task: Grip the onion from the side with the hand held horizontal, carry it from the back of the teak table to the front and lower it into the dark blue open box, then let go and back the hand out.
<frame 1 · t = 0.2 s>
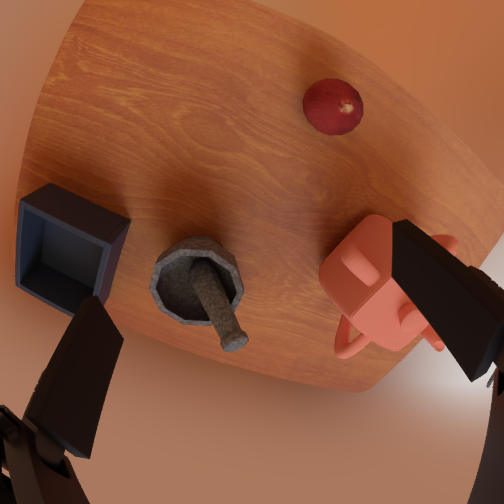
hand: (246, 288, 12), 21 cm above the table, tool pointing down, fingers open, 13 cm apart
teapot: (369, 262, 37), on the table
dark blue open box: (77, 243, 32), on the table
onion: (321, 107, 27), on the table
mortar and pestle: (205, 260, 35), on the table
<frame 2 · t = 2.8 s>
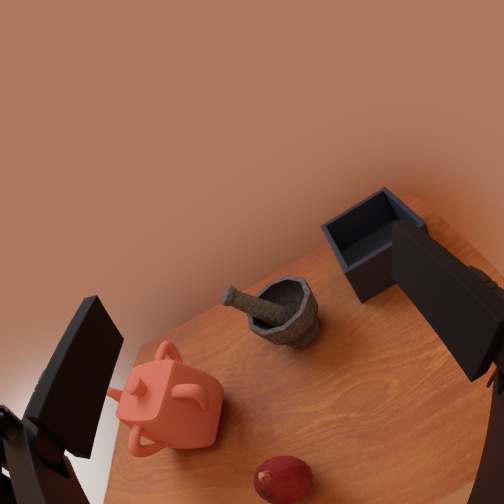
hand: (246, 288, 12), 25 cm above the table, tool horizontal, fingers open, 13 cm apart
teapot: (195, 420, 39), on the table
dark blue open box: (382, 255, 41), on the table
onion: (300, 482, 23), on the table
mortar and pestle: (297, 331, 41), on the table
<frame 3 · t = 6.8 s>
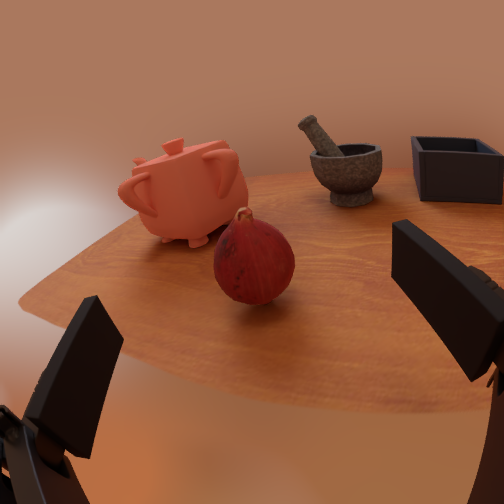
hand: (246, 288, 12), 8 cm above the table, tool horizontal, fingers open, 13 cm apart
teapot: (196, 230, 41), on the table
dark blue open box: (454, 186, 34), on the table
onion: (264, 304, 23), on the table
mortar and pestle: (347, 199, 38), on the table
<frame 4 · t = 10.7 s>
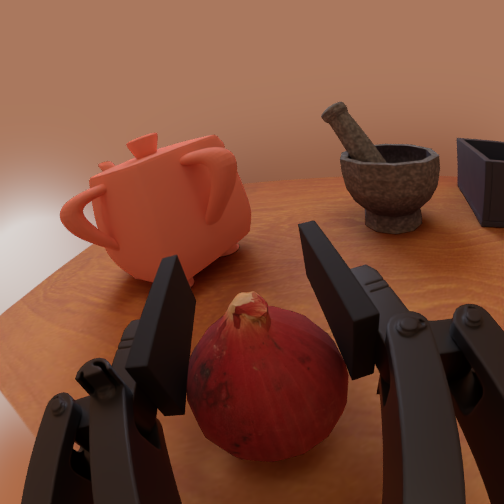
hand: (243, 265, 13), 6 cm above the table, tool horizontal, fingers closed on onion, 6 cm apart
teapot: (179, 261, 29), on the table
onion: (283, 429, 11), on the table, touching gripper
mortar and pestle: (386, 220, 27), on the table
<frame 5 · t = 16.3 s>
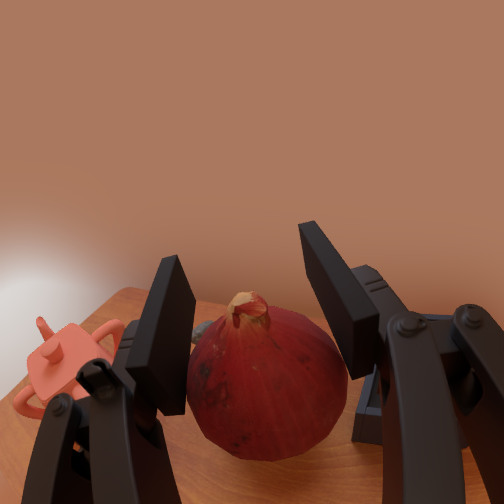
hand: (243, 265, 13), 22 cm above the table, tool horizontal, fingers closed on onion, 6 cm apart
teapot: (105, 409, 31), on the table
dark blue open box: (419, 396, 24), on the table
onion: (282, 428, 11), point 15 cm above the table, touching gripper
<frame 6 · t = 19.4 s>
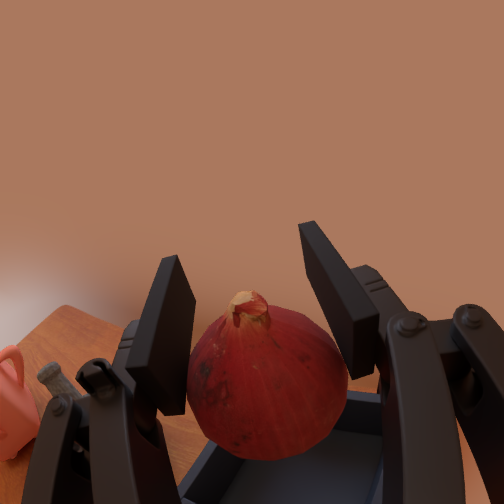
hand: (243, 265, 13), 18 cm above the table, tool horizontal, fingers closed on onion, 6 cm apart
teapot: (20, 425, 24), on the table
dark blue open box: (304, 482, 17), on the table
onion: (282, 428, 11), point 12 cm above the table, touching gripper
mortar and pestle: (130, 457, 21), on the table
when the fingers open (10 cm above the table, at t = 22.1 s): onion drops 3 cm, resting on dark blue open box.
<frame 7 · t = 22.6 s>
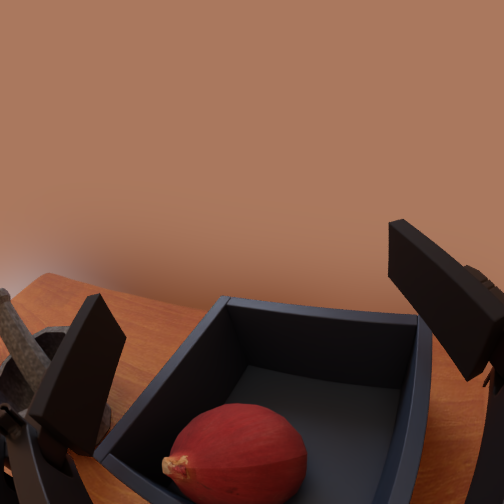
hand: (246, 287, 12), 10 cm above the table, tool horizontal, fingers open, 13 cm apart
dark blue open box: (291, 454, 13), on the table
onion: (286, 451, 13), point 1 cm above the table, touching dark blue open box
mortar and pestle: (81, 418, 18), on the table
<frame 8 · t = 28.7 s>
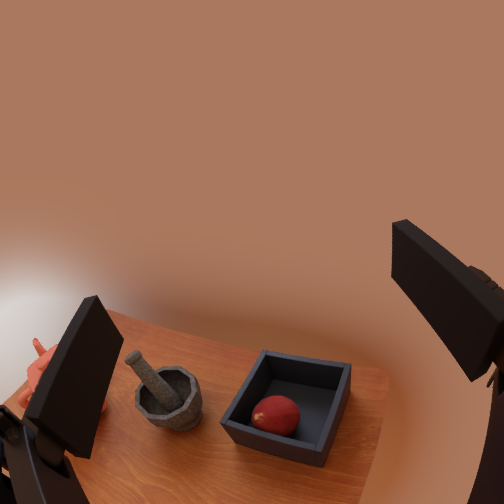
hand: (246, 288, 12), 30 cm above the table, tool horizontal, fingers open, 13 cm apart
teapot: (82, 405, 41), on the table
dark blue open box: (294, 418, 34), on the table
onion: (292, 416, 33), point 1 cm above the table, touching dark blue open box
mortar and pestle: (181, 413, 38), on the table
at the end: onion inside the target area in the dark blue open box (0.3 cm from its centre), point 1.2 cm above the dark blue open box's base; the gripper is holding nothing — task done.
